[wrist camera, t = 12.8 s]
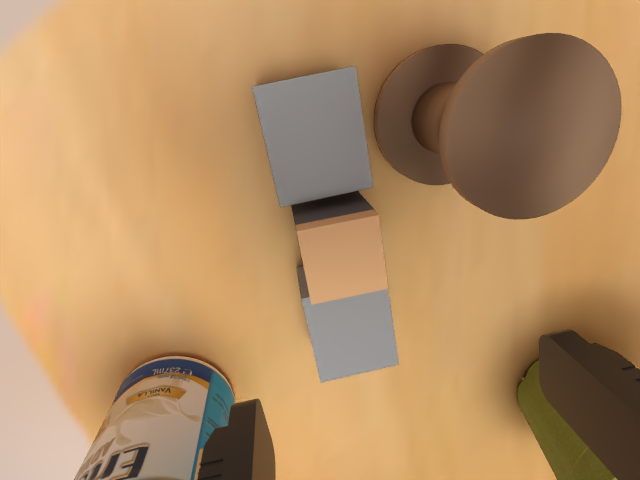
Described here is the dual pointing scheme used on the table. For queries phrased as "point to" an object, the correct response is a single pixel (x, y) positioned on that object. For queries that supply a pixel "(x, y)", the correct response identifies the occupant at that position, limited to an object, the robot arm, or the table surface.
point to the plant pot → (557, 435)
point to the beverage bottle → (160, 422)
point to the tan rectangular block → (340, 247)
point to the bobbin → (502, 121)
